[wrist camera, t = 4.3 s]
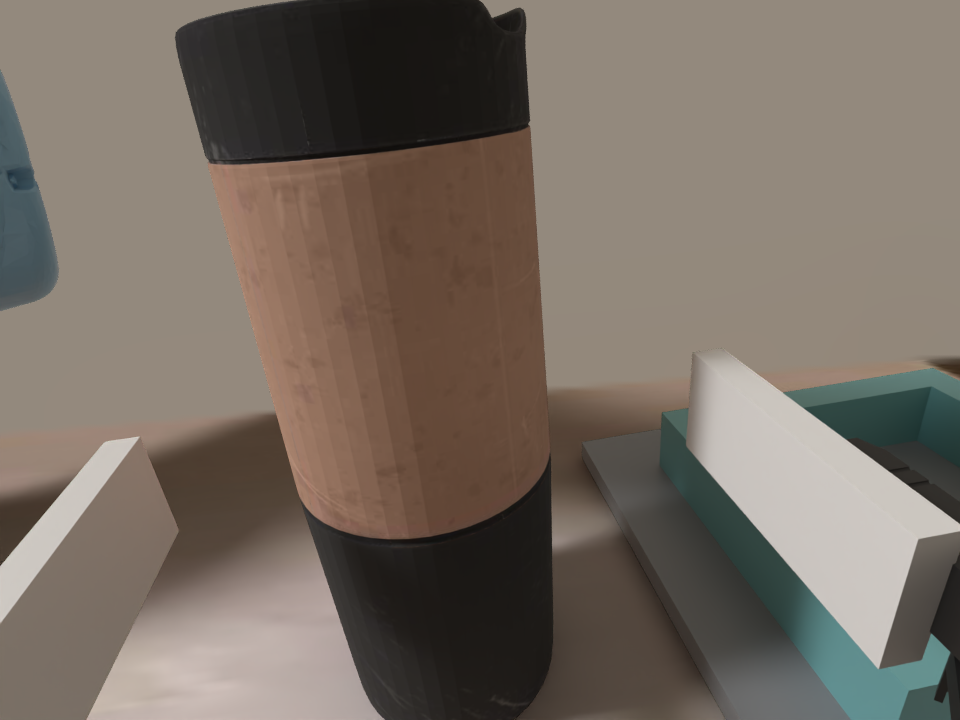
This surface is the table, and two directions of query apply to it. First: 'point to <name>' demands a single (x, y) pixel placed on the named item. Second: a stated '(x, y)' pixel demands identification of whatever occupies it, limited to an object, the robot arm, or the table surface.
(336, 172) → the travel mug
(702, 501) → the mug dock
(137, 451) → the robot arm
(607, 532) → the table surface
